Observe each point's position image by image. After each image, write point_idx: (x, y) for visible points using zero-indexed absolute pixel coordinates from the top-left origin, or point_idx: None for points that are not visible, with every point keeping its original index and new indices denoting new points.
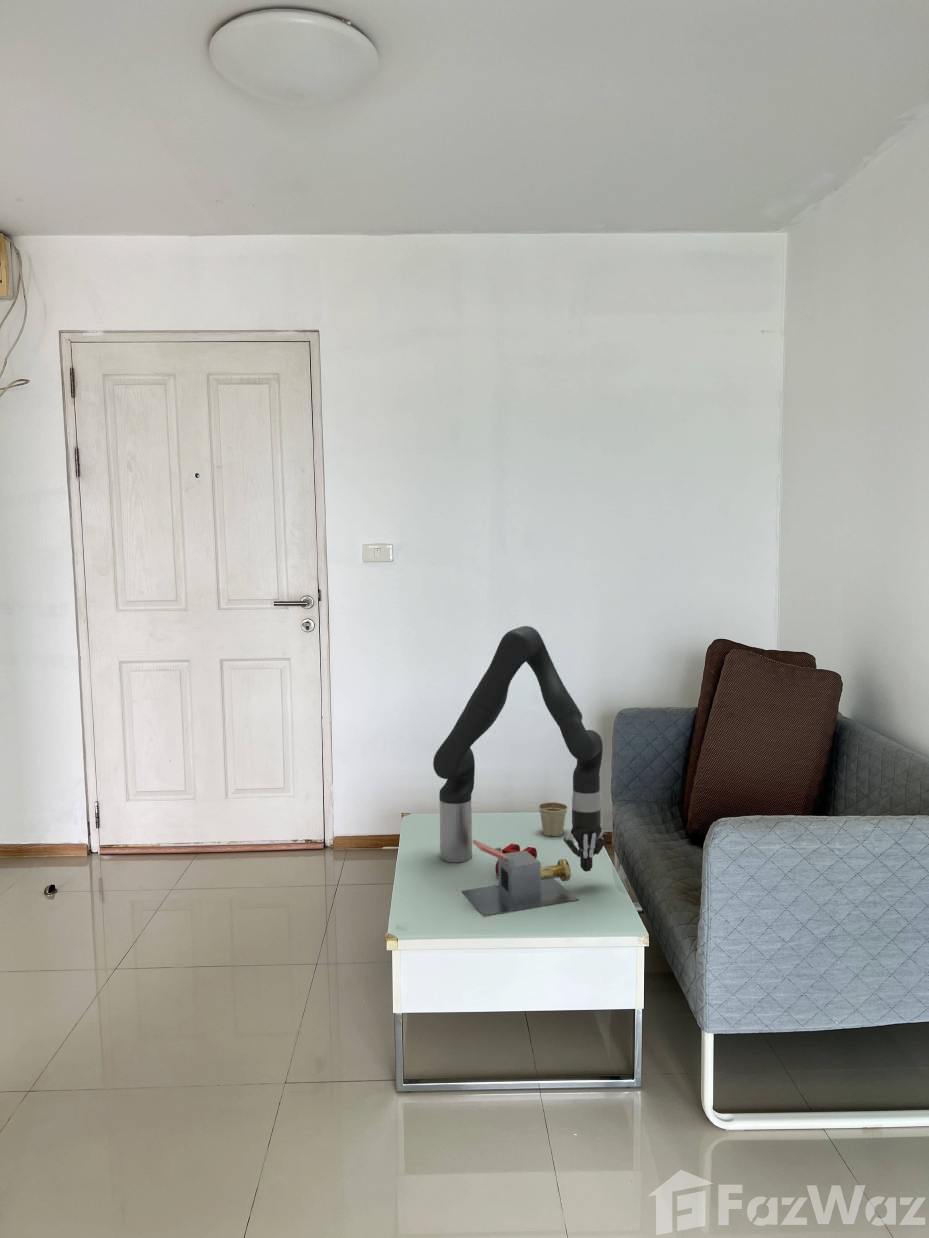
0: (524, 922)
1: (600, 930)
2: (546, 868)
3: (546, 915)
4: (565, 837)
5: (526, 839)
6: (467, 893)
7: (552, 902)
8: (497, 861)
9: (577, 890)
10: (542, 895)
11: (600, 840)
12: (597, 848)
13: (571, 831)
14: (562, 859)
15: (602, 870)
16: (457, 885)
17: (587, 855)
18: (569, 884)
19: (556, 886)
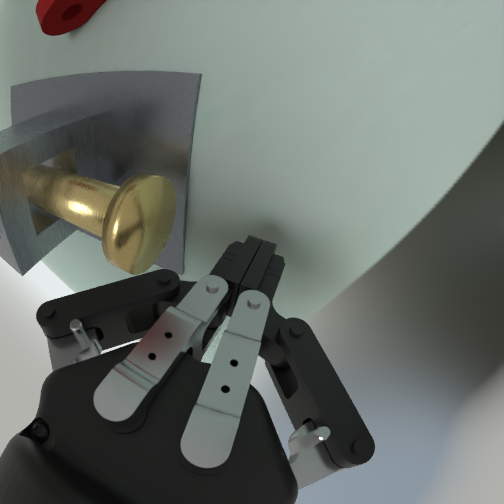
0: (67, 259)
1: None
2: (68, 220)
3: (98, 269)
4: (40, 325)
5: None
6: (13, 104)
7: None
8: (36, 12)
9: (218, 228)
10: None
11: (301, 423)
12: (274, 381)
13: (47, 387)
14: (109, 240)
15: (452, 165)
16: (16, 51)
17: (218, 329)
18: (224, 171)
19: (165, 168)
